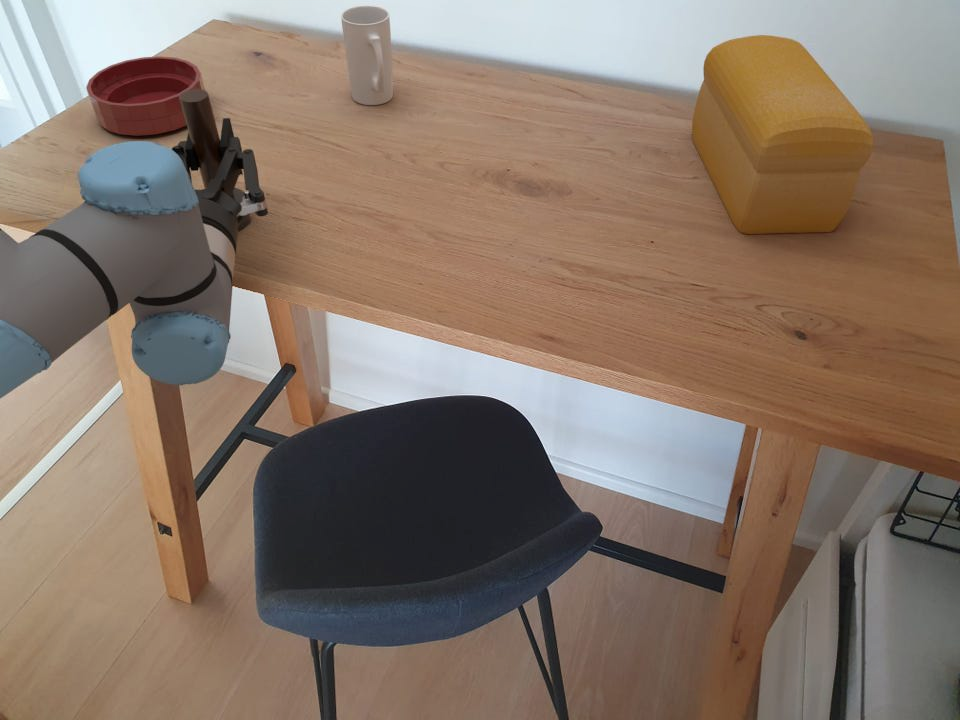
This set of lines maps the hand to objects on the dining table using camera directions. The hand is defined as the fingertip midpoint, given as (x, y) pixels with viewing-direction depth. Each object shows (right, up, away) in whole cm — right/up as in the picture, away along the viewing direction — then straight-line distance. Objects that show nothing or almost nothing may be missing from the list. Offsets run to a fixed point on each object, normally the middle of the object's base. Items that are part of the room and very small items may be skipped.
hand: (212, 130), depth 90 cm
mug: (+16, +12, +25) cm, 32 cm away
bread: (+68, -3, +11) cm, 69 cm away
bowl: (-16, +9, +21) cm, 28 cm away
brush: (+1, -10, +3) cm, 11 cm away
